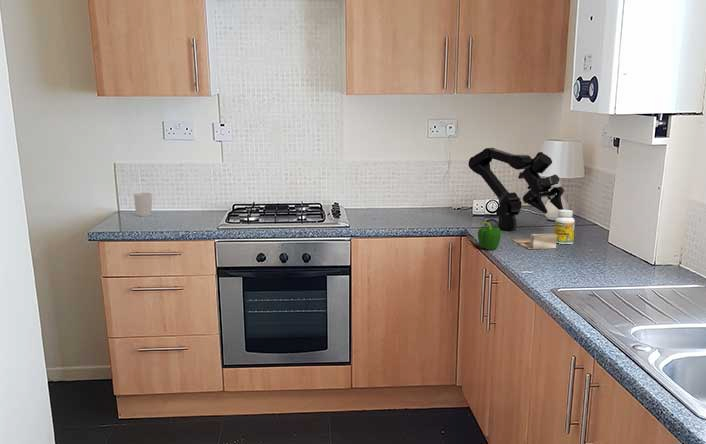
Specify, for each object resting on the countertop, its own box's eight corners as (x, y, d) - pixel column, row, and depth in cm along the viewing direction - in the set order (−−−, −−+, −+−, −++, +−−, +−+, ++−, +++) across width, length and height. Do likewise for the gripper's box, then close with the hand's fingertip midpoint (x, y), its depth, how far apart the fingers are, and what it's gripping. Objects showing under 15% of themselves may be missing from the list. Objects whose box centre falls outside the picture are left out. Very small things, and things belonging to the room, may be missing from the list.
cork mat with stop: (511, 240, 242) (512, 226, 241) (540, 239, 243) (541, 226, 242) (529, 250, 226) (530, 235, 225) (559, 249, 228) (560, 235, 227)
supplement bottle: (574, 242, 239) (577, 210, 236) (571, 246, 233) (574, 213, 230) (555, 240, 242) (558, 208, 240) (551, 243, 236) (554, 211, 233)
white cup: (131, 216, 285) (130, 194, 283) (141, 213, 292) (140, 192, 290) (146, 217, 282) (144, 195, 280) (156, 214, 290) (154, 193, 288)
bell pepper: (505, 249, 228) (506, 222, 226) (491, 252, 222) (493, 225, 220) (486, 244, 234) (487, 219, 232) (473, 248, 228) (474, 222, 226)
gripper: (530, 169, 235) (551, 201, 229) (562, 166, 245) (583, 197, 238) (513, 187, 244) (533, 218, 237) (545, 183, 253) (565, 214, 247)
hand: (554, 211), depth 239 cm, fingers open, 9 cm apart
